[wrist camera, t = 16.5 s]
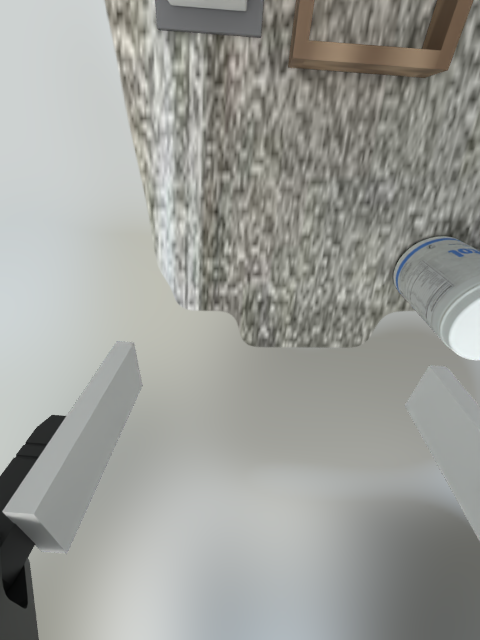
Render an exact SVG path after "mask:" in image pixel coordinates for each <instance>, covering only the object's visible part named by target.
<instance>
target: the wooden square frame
mask: <svg viewBox="0 0 480 640" xmlns="http://www.w3.org/2000/svg"><path fill="white" fill-rule="evenodd" d="M314 1H315V0H296V6H295V14H294V22H293V31H292V39H291V47H290V56H289V64H288V67H290V68H303V69H316V70H329V71H342V72H356V73H369V74H382V75H395V76H408V77H421V78H426V77H429V76H432V75H435V74H438V73H440V72H443V71H446V70H448V68H449V66H450V63H451V60H452V57H453V55H454V52H455V49H456V47H457V44H458V41H459V38H460V36H461V33H462V30H463V27H464V25H465V22H466V19H467V16H468V14H469V11H470V8H471V5H472V3H473V0H437V3H436V6H435V9H434V12H433V16H432V19H431V22H430V25H429V28H428V31H427V35H426V38H425V41H424V44H423V47H422V49H414V48H401V47H388V46H375V45H361V44H348V43H335V42H322V41H309V35H310V28H311V21H312V14H313V7H314Z"/></svg>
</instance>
